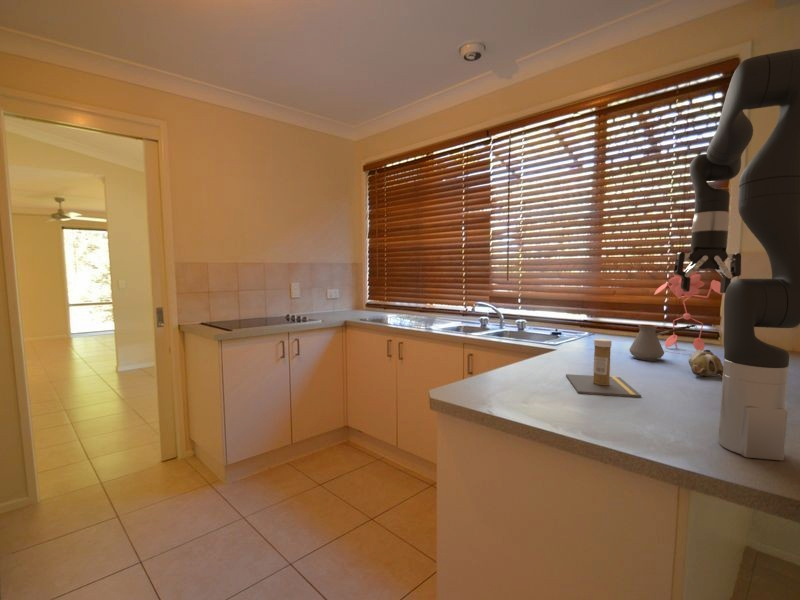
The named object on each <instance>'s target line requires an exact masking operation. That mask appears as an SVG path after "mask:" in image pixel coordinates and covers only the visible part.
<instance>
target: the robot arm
mask: <svg viewBox="0 0 800 600" xmlns="http://www.w3.org/2000/svg"><path fill="white" fill-rule="evenodd" d="M777 106H779V115H778V118H777V123H776V124H775V127H774V128H773V131H772V132H771V133H770V135H769V137H768V139H767V140H766V141H765V142H764V144H763V145H762V146H761V147H760V149H759V150H758V151H757V153H756V154H755V155H754V156H753V157H752V159H751V160H750V161H749V163H748V164H747V165H746V167H745V168H744V169H743V170H742V172H741V174H740V177H739V180H738V199H737V200H738V201H737V202H738V204H737V206H738V207H737V208H738V209H737V211H738V214H739V216H740V218H741V220H742V221H743V223H744V224H745V226H746V227H747V228H748V229H749V231H750V232H751V233H752V234H753V236H754V237H755V238H756V240H758V242H759V243H760V245H762V248H764V250H765V252H766V255H767V257H768V260H769V263H770V269H771V278H737V279H733V278H735V277H740V276H741V275H742V254H741V253H740V252H735V253H727V247H728V235H729V225H730V223H729V221H730V219H729V209H730V198H731V197H730V196H731V194H730V191H728V190H727V189H722V188H715V187H713V186H711V185H709V183H708V182H722V181H723V182H724V181H729V180H732V179H733V178H735V177H737V176H738V174H739V173H740V171H741V167H742V156H743V153H744V151H745V150H746V148H747V146H748V145H749V144H750V143H751V141H752V139H753V136H754V127H753V126H754V125H753V124H752V122H751V120H750V118H748V116H747V115H746V113H744V111H745V110H756V109H761V108H762V109H763V108H768V107H769V108H770V107H777ZM718 122H719V123H718V126H717V129H716V131H715V134H714V135H713V137H712V138H711V141H710V142H709V145H708V146H707V150H706V153H702V154H698V155H696V156H695V157H694V158H693V159H692V161H691V162H690V164H689V174H690V179H691V183H692V186H693V190H694V191H693V192H694V196H695V202H694V215H693V220H692V223H691V224H692V226H691V238H690V239H691V240H690V251H689V252H688V253H687V252H684V251H682V252H677V253H675V262H674V268H673V272H674V274H675V275H679V276H681V278H682V279H681V289H683V291H686V292H689V290H690V278H689V276H690V275H691V274H692V273H693V272H694V271H696V272H697V270H715V271H716V272H717V273H718V274H719V275H720V276H721V277H722V278H720V283H721V286H720V293H722V294H724V300H723V302H724V303H723V348H724V352H723V353H724V354H723V376H722V381H721V395H720V396H721V397H720V406H719V407H720V410H719V420H718V421H719V422H718V423H719V424H718V439H717V441H718V443H719V445H720V446H722V447H723V448H725V449H726V450H729V451H731V452H733V453H736V454H739V455H740V456H742V457H744V458H753V459H762V460H770V461H771V460H774V461H784V457H785V447H786V435H787V424H788V423H787V422H788V411H787V409H786V398H787V385H788V377H789V376H788V375H789V366H790V365H789V364H790V353H789V351H787V350H786V349H784V348H782V347H779V346H776V345H773V344H769V343H767V342H764V341H762V340H761V339H759V338H758V337H757V336H756V333H755V332H756V331H755V328H772V329H792V328H796V327H798V326H800V48H793V49H789V50H783V51H777V52H771V53H766V54H762V55H756V56H752V57H748V58H746V59H744V60H742V62H740V63H739V65H738V66H737V67H736V69H735V70H734V73H733V75H732V77H731V80H730V83H729V86H728V89H727V92H726V95H725V99H724V102H723V106H722V110H721V114H720V118H719V121H718ZM687 259H689V261H690V262H691V263H689V264H688V266H687V267H686V268H685V269H686V270H685V271H683V268H684V264H685V261H687ZM726 260H728V262H729V263H730V265H729V268H730V269H728V266H727V265H726V264H725V263H724V262H725V261H726ZM732 279H733V280H732ZM731 280H732V281H731Z"/></svg>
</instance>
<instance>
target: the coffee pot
mask: <svg viewBox="0 0 800 600" xmlns="http://www.w3.org/2000/svg"><path fill="white" fill-rule="evenodd" d="M637 327H639V332H638V333H637V335H636V336H635V338H634V340H633V341H632V344H631V346H630V348H629V349H628V350H629V353H630V354H631V355H632V356H633V357H634V359H637V360H641V361H642V360H643V361H648V362H649V361H653V362H655V361H658V360H659V359H661V358H662V357H664V354H665V350H664V348H663V345H662V344H661V342H660V339H659V338H658V336H661V335H664V334H668V333H669V334H670V333H673V332H674V333H675V332H680V331H684V330H686V329H690V328H694V330H697V329H698V326H697V325H696V324H690V325H689V324H688V325H686V326H679V327H676V328H675V327H674V329H673V328H672V329H670V330H665V331H660V332H656V330H657V328H658V327H659V326H658V325H653V324H638V325H637Z"/></svg>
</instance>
